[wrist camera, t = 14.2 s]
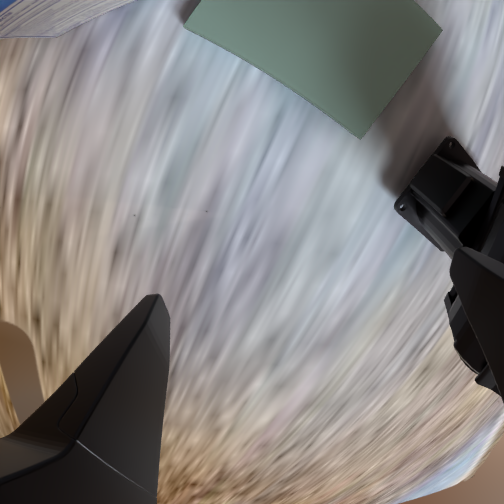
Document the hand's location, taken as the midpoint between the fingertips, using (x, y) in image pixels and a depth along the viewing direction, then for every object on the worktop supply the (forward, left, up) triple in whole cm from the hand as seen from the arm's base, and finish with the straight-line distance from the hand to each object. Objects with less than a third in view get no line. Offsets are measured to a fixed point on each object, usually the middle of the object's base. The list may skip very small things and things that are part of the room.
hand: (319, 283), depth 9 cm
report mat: (+3, -9, -12) cm, 15 cm away
